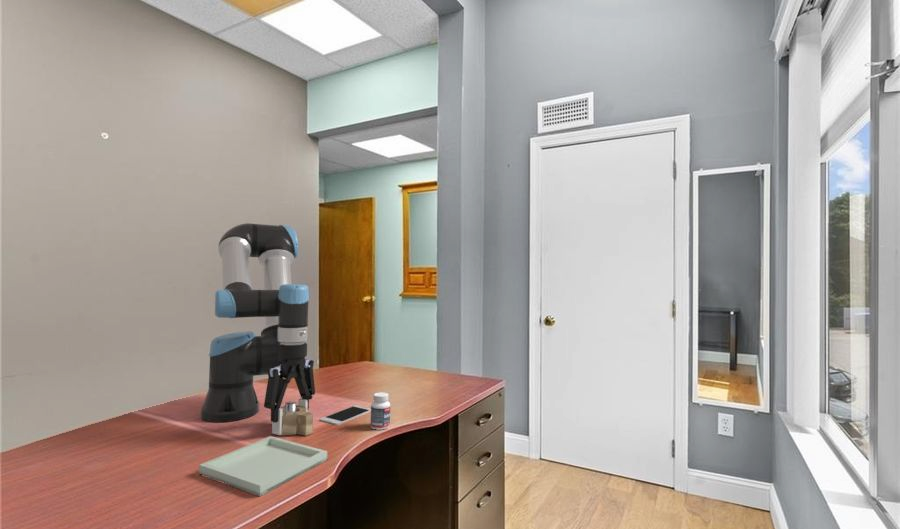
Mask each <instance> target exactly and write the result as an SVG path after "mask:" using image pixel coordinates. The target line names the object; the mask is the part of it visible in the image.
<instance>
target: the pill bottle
mask: <svg viewBox="0 0 900 529" xmlns="http://www.w3.org/2000/svg"><path fill="white" fill-rule="evenodd" d="M370 408H371V412H370V428H371V429H372V430H375V429H376V430H375V431H382V430H383V429H384V430H387V429H389V428H390V426H391V425H390V424H391V403H390V401H389V393H387V392H383V391H382V392H381V391H380V392H375V393H374V394H373V401H372V403H371V404H370Z"/></svg>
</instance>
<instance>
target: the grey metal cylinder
mask: <svg viewBox="0 0 900 529" xmlns="http://www.w3.org/2000/svg"><path fill="white" fill-rule="evenodd" d="M296 405H297V402H296V401H287V402H286V401H285V404H284V406H285V414H288V413H295V412H296Z"/></svg>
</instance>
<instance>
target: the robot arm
mask: <svg viewBox="0 0 900 529" xmlns="http://www.w3.org/2000/svg"><path fill="white" fill-rule="evenodd" d="M298 239H299V238H298V235H297V232H296V230H295V229H294V227H292V226H289V225H288V226H287V225H282V224H279V225H276V224H275V225H273V224H262V223H249V222H248V223H241V224H237V225H236V226H233V227H232V228H231V227H230V229H227V231H226V232H225V233H224V234H223V235H222V236H221V237H220V240H219V242H218V254H219V256H220V258H221V259H222V260H221V265H222V266H221V267H222V289H219V290H216V291H215V294H214V315H215V317H217V318H220V319H221V318H223V319H224V318H225V319H227V318H228V319H236V318H237V319H238V318H262V317H263V318H265V326H264V328H263V329H262V330H261V331H260V335H257V336H256V334H255V332H254V331H250V330H248V331H238V332H229V333H226V334H222V335H219V336H216V337H214V338H213V339H212V340H211V341H210V342H211V343H210V347H209V354H208V356H209V367H208V368H209V372H208V373H209V375H208V389H207V392H206V394H205V399H204V401H203V404H202V406H201V410H200V419H202V420H204V421H207V422H213V423H215V422H216V423H224V422H234V421H238V420H243V419H244V420H245V419H246V418H251V417H253V416H254V415H256V414H257V413H258V412H259V411H260V408H259V407H260V406H259V400H258V396H257V393H256V391H255V387H254V376H268V379H267V383H266V384H267V385H266V391H265V397H264V403H263V407H264V408H265V409H270V422H271V424H272V426H271V434H274V435H277V436H282V435H281V434H282V413H283V409H281V407H282V403H283V399H284V398H285V394H286V390H287V388H288V386H289V383H290V382H291V380H293V379H294V380H295V384H296V387H297V389H298V392H299V396H300V398H298V403H297V404H298V406H302V407H306V412H308V411H309V407H310V400H312V399H313V396H314V395H315V394H316V386H315V377H314V364H315V363H314V362H315V361H314V360H313V359H312V360H311V359H306V357H307V356H308V330H309V328H308V327H309V326H308V325H309V324H308V323H309V302H310V295H309V293H310V292H309V287H308V285H306V284H299V283H297V284H296V283H295V284H293V283H292V274H291V265H292V264H293V263H294V261H295V259H296V258H297V257H298V255H299V240H298ZM250 258H258V259H257V260H258V263H259V264H260V265H261V266H262V267H263V283H264V284H263V289H253V287H252V286H253V285H252V277H251V267H250Z"/></svg>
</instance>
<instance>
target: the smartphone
mask: <svg viewBox="0 0 900 529" xmlns="http://www.w3.org/2000/svg"><path fill="white" fill-rule="evenodd" d="M367 413H371V407H367V406H361V405H359V404H358V405H357V404H354V405H352V406H349V407H347V408H343V409H342V410H340V411H337V412H334V413H331V414H329V415H326V416H324V417H321V418H319V422H323V423H327V424H331V425H334V426H340V425H343V424H344V423H347V422H349V421H352V420H353V419H357V418H359V417H361V416H363V415H366V414H367Z"/></svg>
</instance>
